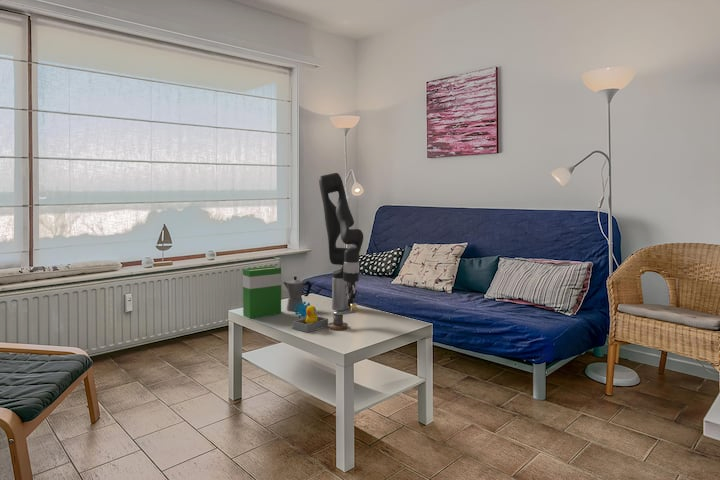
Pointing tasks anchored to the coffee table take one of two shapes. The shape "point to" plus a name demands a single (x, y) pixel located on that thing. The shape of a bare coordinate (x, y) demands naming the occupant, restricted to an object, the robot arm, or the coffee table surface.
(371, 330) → the coffee table surface
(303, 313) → the gear
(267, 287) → the green box
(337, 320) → the base
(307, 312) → the duckling
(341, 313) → the crank
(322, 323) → the tray
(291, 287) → the coffeepot
